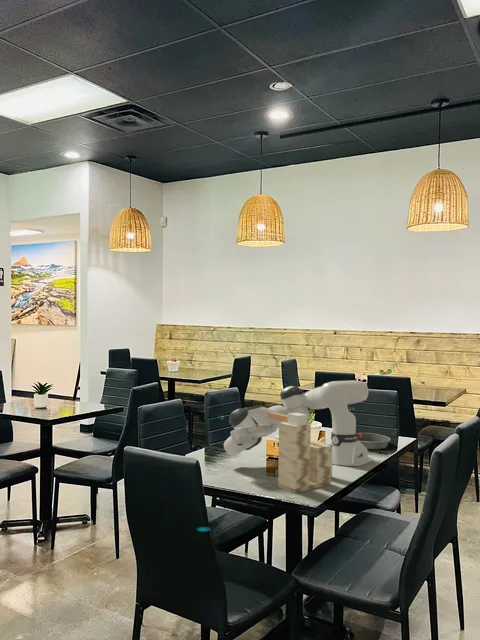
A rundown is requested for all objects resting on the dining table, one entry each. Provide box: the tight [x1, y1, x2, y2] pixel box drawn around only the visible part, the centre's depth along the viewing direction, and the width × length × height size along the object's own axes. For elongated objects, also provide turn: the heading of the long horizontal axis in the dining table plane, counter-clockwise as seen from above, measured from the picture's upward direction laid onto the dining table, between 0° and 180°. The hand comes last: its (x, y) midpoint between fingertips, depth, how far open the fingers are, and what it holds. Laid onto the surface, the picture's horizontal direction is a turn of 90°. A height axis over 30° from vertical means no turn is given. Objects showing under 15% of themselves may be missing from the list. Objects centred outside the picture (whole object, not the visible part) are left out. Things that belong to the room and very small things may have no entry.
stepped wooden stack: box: [277, 422, 332, 494], centre depth 231 cm, size 20×10×26 cm, turn 127°
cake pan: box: [356, 432, 392, 450], centre depth 310 cm, size 25×25×4 cm
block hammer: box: [268, 412, 307, 426], centre depth 232 cm, size 5×20×4 cm, turn 37°
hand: (265, 425), depth 242 cm, fingers open, 8 cm apart
